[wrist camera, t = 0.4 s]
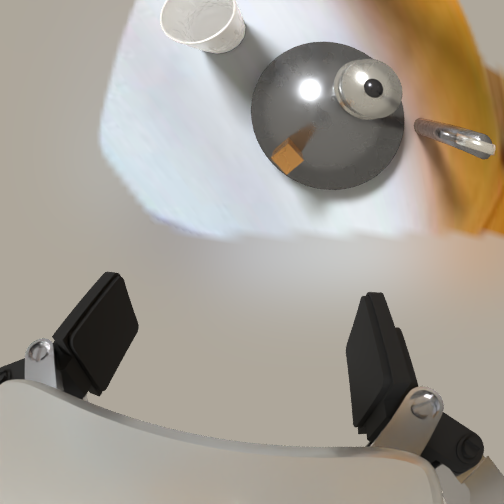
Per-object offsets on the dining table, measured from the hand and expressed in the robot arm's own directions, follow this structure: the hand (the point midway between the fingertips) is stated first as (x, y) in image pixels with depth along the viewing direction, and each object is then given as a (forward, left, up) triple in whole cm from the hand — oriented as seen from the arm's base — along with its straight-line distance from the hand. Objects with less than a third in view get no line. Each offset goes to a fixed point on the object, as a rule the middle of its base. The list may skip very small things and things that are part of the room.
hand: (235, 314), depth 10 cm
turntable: (-9, 0, -28) cm, 30 cm away
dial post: (-19, +9, -30) cm, 36 cm away
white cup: (-7, -18, -30) cm, 36 cm away
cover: (-15, 0, -27) cm, 31 cm away
